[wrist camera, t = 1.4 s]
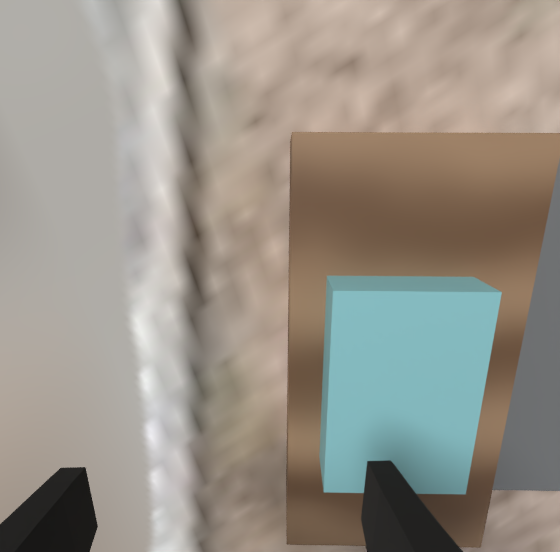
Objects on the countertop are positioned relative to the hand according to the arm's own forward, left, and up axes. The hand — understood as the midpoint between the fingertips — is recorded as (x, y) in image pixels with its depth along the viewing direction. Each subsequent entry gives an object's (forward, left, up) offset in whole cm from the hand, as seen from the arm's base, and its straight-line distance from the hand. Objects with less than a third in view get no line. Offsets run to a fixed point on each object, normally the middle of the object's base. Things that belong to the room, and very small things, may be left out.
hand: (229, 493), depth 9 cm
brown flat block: (-1, -7, -11) cm, 13 cm away
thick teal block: (-1, -6, -7) cm, 9 cm away
